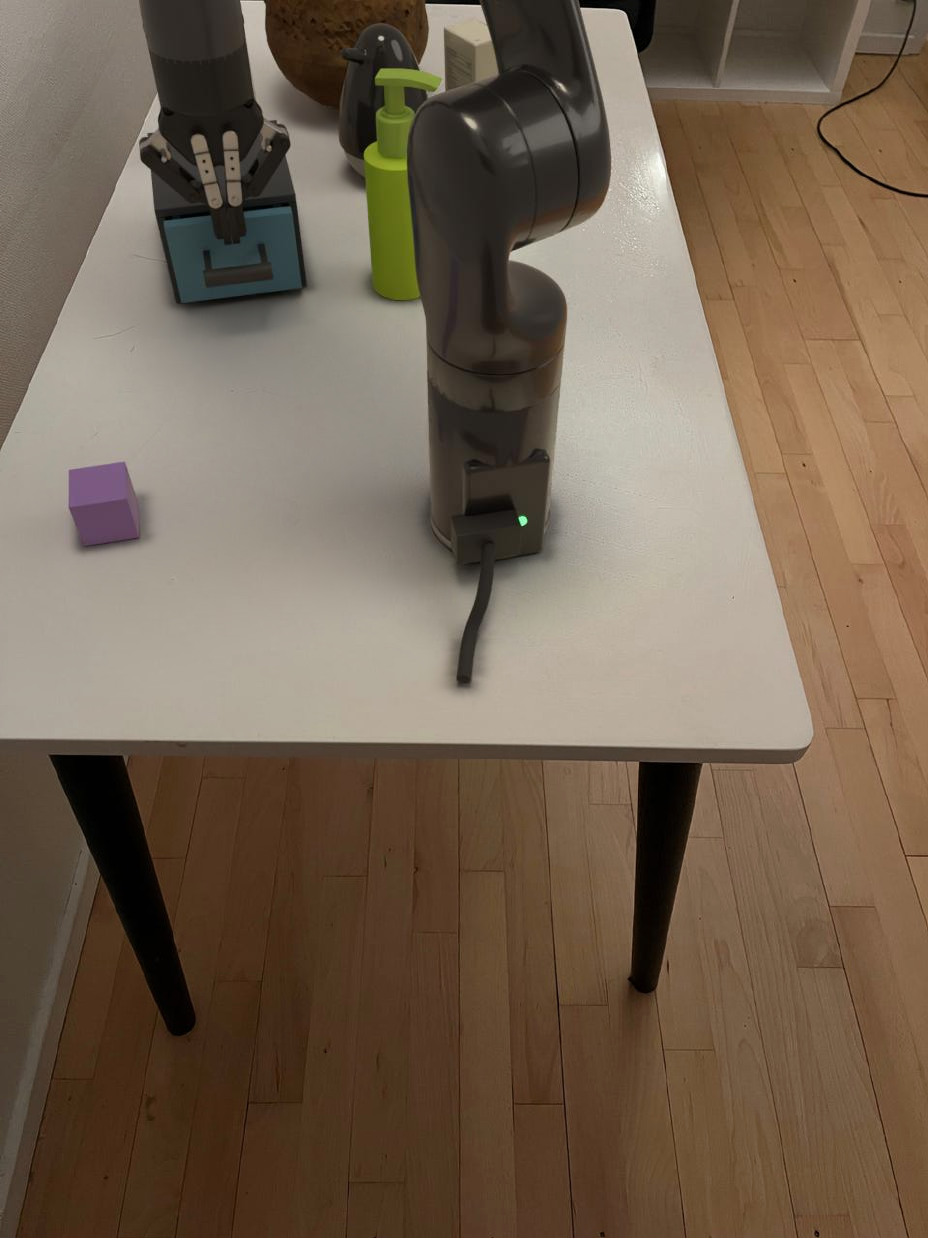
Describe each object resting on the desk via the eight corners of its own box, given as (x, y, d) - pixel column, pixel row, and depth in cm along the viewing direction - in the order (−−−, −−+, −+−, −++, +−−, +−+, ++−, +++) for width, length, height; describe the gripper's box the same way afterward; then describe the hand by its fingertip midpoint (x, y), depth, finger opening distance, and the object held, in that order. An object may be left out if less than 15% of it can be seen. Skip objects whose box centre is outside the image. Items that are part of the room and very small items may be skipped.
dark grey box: (307, 286, 103) (295, 193, 96) (176, 303, 101) (154, 209, 94) (288, 209, 112) (276, 119, 105) (167, 223, 110) (147, 132, 103)
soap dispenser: (435, 305, 101) (432, 92, 86) (366, 296, 102) (349, 84, 87) (448, 271, 105) (447, 61, 90) (381, 263, 106) (368, 54, 90)
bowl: (382, 53, 137) (375, -79, 125) (458, 111, 127) (458, -27, 115) (248, 87, 130) (228, -49, 119) (317, 151, 120) (302, 9, 109)
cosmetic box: (506, 149, 121) (510, 36, 111) (475, 160, 119) (476, 45, 110) (474, 127, 124) (475, 15, 115) (443, 137, 122) (442, 24, 113)
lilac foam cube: (139, 537, 82) (126, 498, 78) (83, 546, 81) (68, 507, 78) (137, 500, 84) (124, 461, 81) (83, 508, 84) (68, 469, 80)
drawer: (309, 317, 98) (299, 241, 92) (185, 334, 97) (167, 257, 91) (284, 215, 110) (274, 141, 104) (173, 228, 108) (156, 153, 102)
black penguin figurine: (321, 172, 117) (306, 25, 105) (388, 139, 122) (381, -5, 110) (385, 205, 113) (377, 56, 101) (452, 169, 118) (452, 23, 106)
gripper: (108, 64, 78) (159, 272, 92) (287, 48, 80) (311, 253, 94) (106, 22, 83) (155, 226, 96) (275, 8, 85) (300, 209, 98)
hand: (232, 239), depth 95 cm, fingers closed
